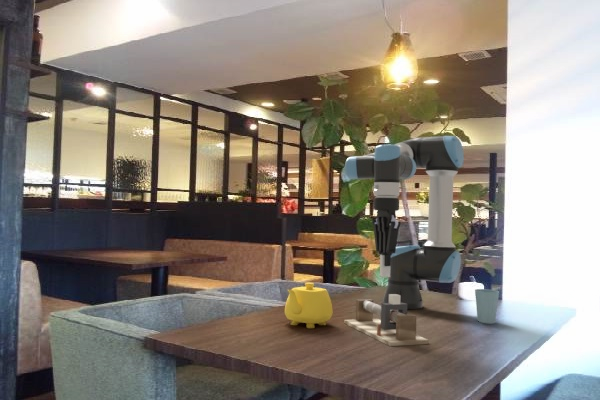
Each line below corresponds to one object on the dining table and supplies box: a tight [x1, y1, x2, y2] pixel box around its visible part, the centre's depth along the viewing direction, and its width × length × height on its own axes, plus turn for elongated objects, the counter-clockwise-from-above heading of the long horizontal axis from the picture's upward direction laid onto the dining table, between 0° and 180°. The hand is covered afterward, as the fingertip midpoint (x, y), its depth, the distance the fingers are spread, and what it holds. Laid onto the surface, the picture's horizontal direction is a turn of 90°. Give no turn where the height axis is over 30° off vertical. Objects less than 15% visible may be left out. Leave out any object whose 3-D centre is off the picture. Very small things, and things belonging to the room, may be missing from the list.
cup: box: [474, 288, 500, 324], centre depth 175 cm, size 8×8×10 cm
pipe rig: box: [343, 298, 430, 347], centre depth 154 cm, size 29×12×8 cm, turn 20°
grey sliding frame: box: [380, 294, 408, 330], centre depth 148 cm, size 2×7×10 cm, turn 109°
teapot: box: [284, 282, 334, 329], centre depth 161 cm, size 14×20×13 cm
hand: (384, 276), depth 155 cm, fingers closed
